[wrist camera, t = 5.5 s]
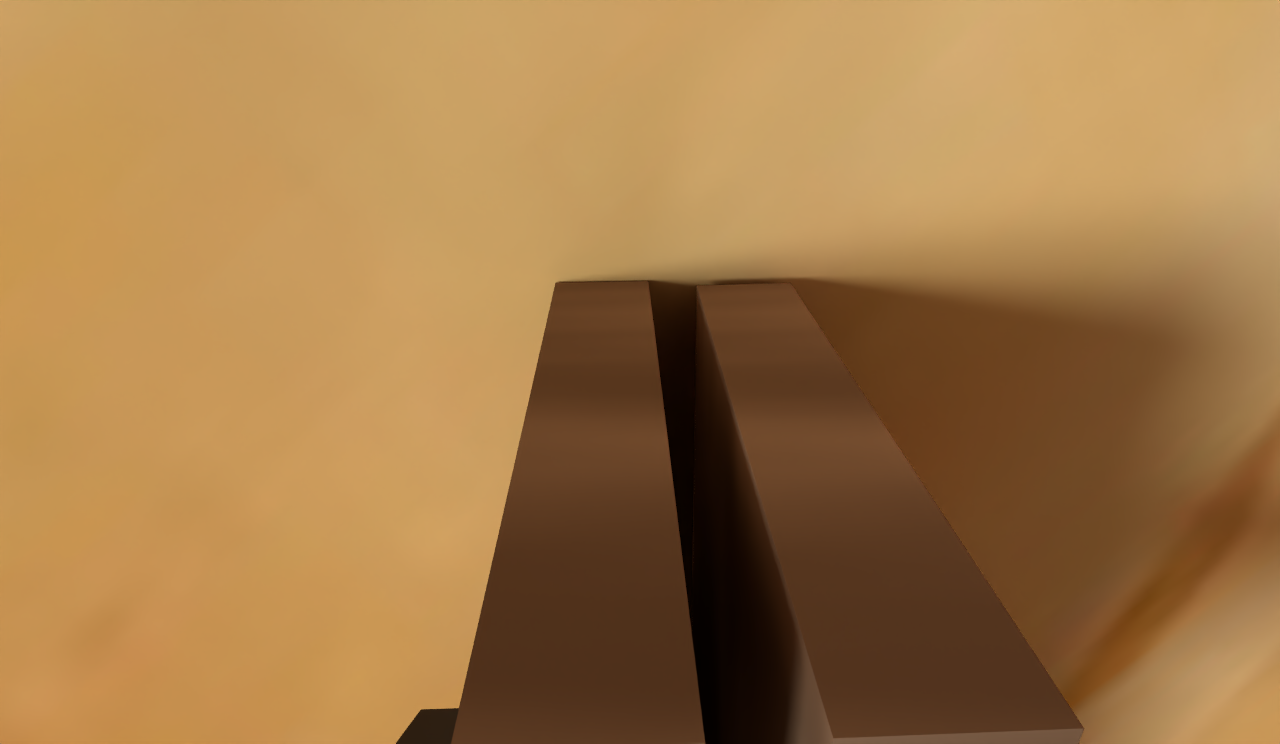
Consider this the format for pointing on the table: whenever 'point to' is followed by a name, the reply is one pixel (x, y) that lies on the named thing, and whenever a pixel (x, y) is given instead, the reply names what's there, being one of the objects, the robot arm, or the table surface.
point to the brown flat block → (588, 548)
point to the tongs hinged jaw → (834, 560)
